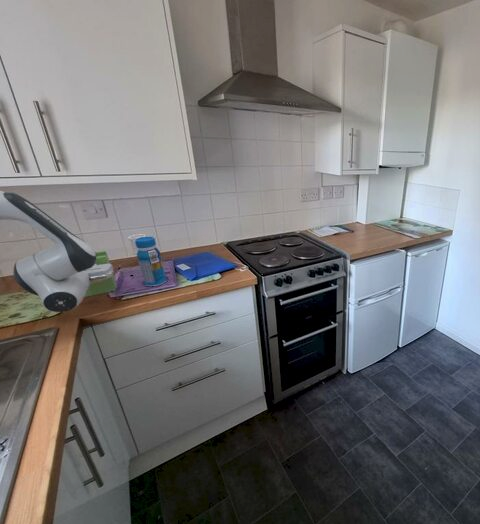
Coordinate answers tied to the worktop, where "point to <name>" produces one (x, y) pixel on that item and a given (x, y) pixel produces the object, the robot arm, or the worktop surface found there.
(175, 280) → the worktop surface
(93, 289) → the green square panel
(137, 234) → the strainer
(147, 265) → the beverage bottle
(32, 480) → the worktop surface
